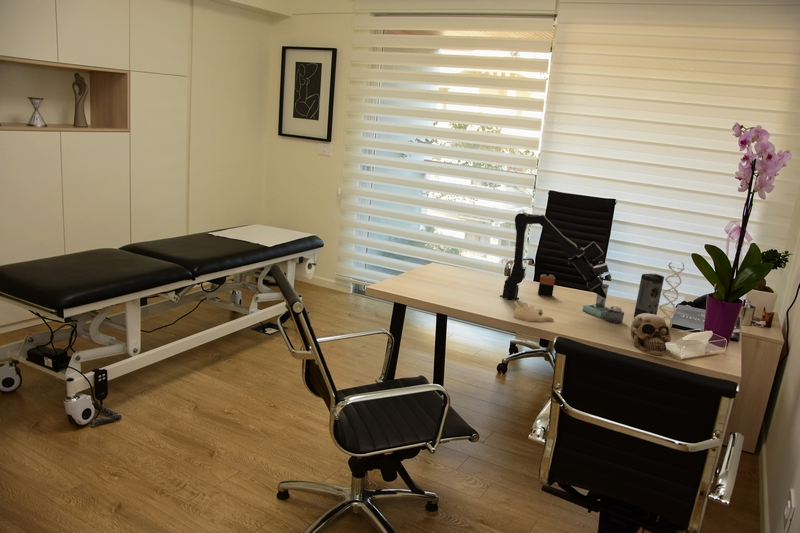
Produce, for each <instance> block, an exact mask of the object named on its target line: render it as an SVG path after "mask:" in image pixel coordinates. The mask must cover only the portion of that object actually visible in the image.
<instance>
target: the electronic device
mask: <svg viewBox="0 0 800 533" xmlns="http://www.w3.org/2000/svg"><path fill="white" fill-rule="evenodd" d="M664 282H665V276H663V275H661V274H658V273H642V274H641V277H640V282H639V288H638V293H637V298H636V303H635V308H634V312H633V319H634V318H635V317H636V316H637V315H639V314H643V313H648V314H654V315H657V314H658V309H659V305H660V299H661V295H662V290H663V285H664ZM657 316H658V315H657Z"/></svg>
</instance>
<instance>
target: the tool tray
mask: <svg viewBox="0 0 800 533" xmlns="http://www.w3.org/2000/svg"><path fill="white" fill-rule="evenodd" d="M595 304H596V303H591V304H584V305H583V304H582V305H583V306H582V312H585V313H587V314H589V315H593V316H595V317H597V316H598V318H600V317H602V318H606V313H607V309H611V307H608V306H606V305H605V307H606V310H605V311H600V310H597V309H594V308H593V307H594V305H595Z"/></svg>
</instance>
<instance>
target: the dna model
mask: <svg viewBox="0 0 800 533" xmlns="http://www.w3.org/2000/svg"><path fill="white" fill-rule="evenodd" d="M671 264H673V261H672V262H669V263H668V265H667V266H668V268H669V270H670V271H672V272H673V273H674V274H672V275H668V276H667V277H665V278H664V282H666V283H667V285H669V286H670V287H671V288H669V289H667V290H666V289H665V290H664V291H663V292H662V297H664V298H665V299H666V300H667V301H668V302H666V303H664V304H662V305H660V306H659V310H660V311H662V313H663V314H664V315H665V316H663V317H662V318H663V319H664V320H665V319H668V320H669V321H670V325H667V326H668V327H669V330H670V329H671V328H672V326H673V320H672V318H671V316H673V315H674V314H675V313H676V306H675V303H674V302H676V301H677V300H678V298H679V292H678V289H677V288H678V287H679V286H680V285H681V284H682V279H681V276H680V275H679V274H680V273H682V272H683V271H685V263H683V261H682V262H681V264H682V268H679V267H677V270H680V271H675V270H674V269H676V267H675V266H671ZM670 278H678V279H679V283H678V282H675V281H674V282H673V281H671V280H668V279H670ZM671 283H674V284H676V285H675V286H673V285H672V284H671ZM670 291H674V292H675V294H676V297H675V296H669V295H667V294H665V293H666V292H670ZM669 298H672V299H673V300H670V299H669ZM668 305H671V306H672V307H673V311H670V310H666V309H664V308H662V307H664V306H668ZM666 311H667V312H670V314H668V313H666Z"/></svg>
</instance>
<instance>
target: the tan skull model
mask: <svg viewBox="0 0 800 533" xmlns="http://www.w3.org/2000/svg"><path fill="white" fill-rule="evenodd" d="M668 326H669V325H667V323H666V319H665V318H664V319H663V317H661V316H660V315H654V314H648V313H643V314H639V315H637V316H636V317H635V318H634V317H633V319H632V322H631V324H630V337H631V338H632V339H633V346H634V347H635V348H637V349H638V350H640V351H642V352H643V353H645V352H646V353H645V354H649V355H652V356H658V357H663V356H666V354H667V352H668V351H667V350H666V349H667V345H666V343H670V342H671V341H672V338H671V337H672V336H671V333H670V329H669V327H668Z"/></svg>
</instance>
